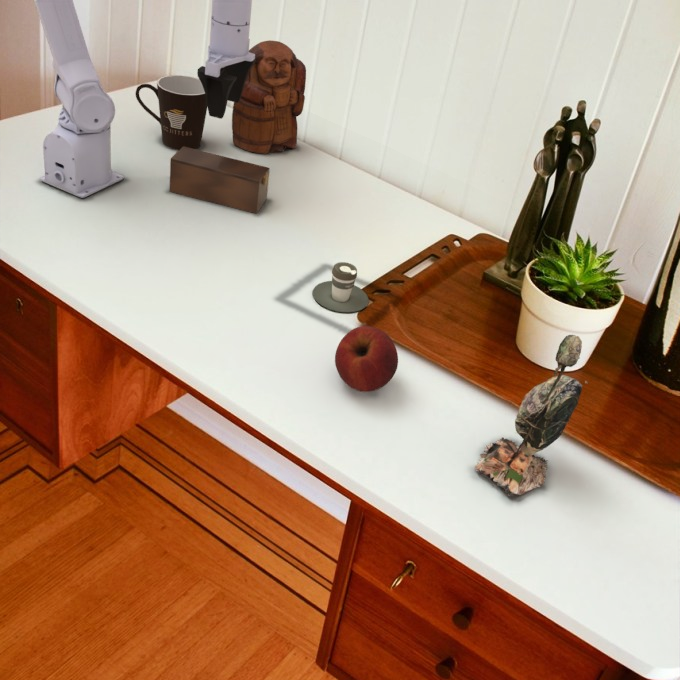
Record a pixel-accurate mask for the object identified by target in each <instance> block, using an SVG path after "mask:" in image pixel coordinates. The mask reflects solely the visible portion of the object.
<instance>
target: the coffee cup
mask: <svg viewBox="0 0 680 680" xmlns="http://www.w3.org/2000/svg"><path fill="white" fill-rule="evenodd" d="M331 274H332V276H331V280H328V281H323V282H320V283H318V284H317V285H315V286H314V287H313V290H312V297H313V298H314V300H315V301H316V302H317V303H318V304H319V305H320V306H321V307H323V308H325V309H326V310H329V311H331V312H334V313H341V314H352V313H356V312H360V311H361V310H364V309H365V308H366V307H367V306H368V304H369V297H368V295H367V293H366V291H364V290H363V289H362V288H361V287H358V286H357V285H355V283H356V278H357V277H358V269H357V267H356V266H355V265H354V264H353V263H349V262H345V261H344V262H343V261H341V262H336V263H334V265H333V266H332V270H331Z"/></svg>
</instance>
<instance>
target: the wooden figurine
mask: <svg viewBox="0 0 680 680" xmlns="http://www.w3.org/2000/svg"><path fill="white" fill-rule="evenodd" d="M249 52H250V53H253V54H255V57H256V61H255V63H254V65H253V66H252V68H251V70H250V72H249V74H248V76H247V79H246V82H245V85H244V88H243V92H242V95H241V98H240V101H239V102H238V103H236V102H233V106H232V113H231V132H232V133H231V134H232V142H233V145H235V146H236V147H238V148H240V149H242V150H244V151H248V152H251V153H253V154H254V153H255V154H263V155H264V154H265V155H266V154H268V153H277V152H285V150H286V149H296V148H297V143H298V142H297V140H298V120H297V118H298V117H299V116H300V115H302V113H303V111H304V104H305V99H306V96H305V91H306V81H307V68H306V65H305V64H304V62H303V61H301V60H300V59H299V58H298V57H297V56H296V54H295V52H294V50H293V49H292V48H290V46H288V45H287V44H285V43H284V42H281V41H278V40H270V39H269V40H264V41H260V42H258V43H256V44H255V45H254V46H252V47H251V48H249Z"/></svg>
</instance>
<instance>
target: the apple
mask: <svg viewBox="0 0 680 680" xmlns="http://www.w3.org/2000/svg"><path fill="white" fill-rule="evenodd" d="M334 354H335V355H334V364H335V365H334V366H335V368H336V371H337V374H338V376H339V377H340V378H341V380H342V381H343V382H344V384H346V385H347V386H348V387H349V388H351V389H353V390H355V391H358V392H361V393H370V392H374V391H377V390H379V389H381V388H383V387H385V386H387V384H388V383H390V382H391V380H392V379H393V378H394V377H395V374H396V372H397V370H398V365H399V356H398V349H397V347H396V344H395V343H394V341H393V339H392V338H391V337H390V335H388V333H386V332H385V331H384V330H382V329H380V328H378V327H375V326H371V325H362V326H358V327H355V328H353V329H351V330H350V331H348V332H347V333H346V334H345V335H344V336H343V337H342V339H341V340H340V341H339V343H338V345H337V347H336V350H335V353H334Z"/></svg>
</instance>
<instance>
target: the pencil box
mask: <svg viewBox="0 0 680 680" xmlns="http://www.w3.org/2000/svg"><path fill="white" fill-rule="evenodd" d="M169 162H170V163H169V164H170V165H169V192H170V193H175V194H178V195H181V196H187V197H190V198H192V199H193V198H194V199H197V200H201V201H206V202H210V203H213V204H217V205H221V206H225V207H229V208H233V209H236V210H240V211H244V212H249V213H252V214H257V213H259V211H260V209H262V206H264V204H265V202H266V201H267V198H268V189H269V180H270V179H269V178H270V170H271V169H270V167H268V166H264V165H260V164H256V163H251V162H248V161H244V160H240V159H235V158H232V157H227V156H224V155H220V154H216V153H212V152H208V151H204V150H200V149H198V148H197V149H193V148H189V147H185V146H183V147H182V148H181V149H180V150H177V152H175V153H174V154H173V155H172V156H171V157H170V161H169Z"/></svg>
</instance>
